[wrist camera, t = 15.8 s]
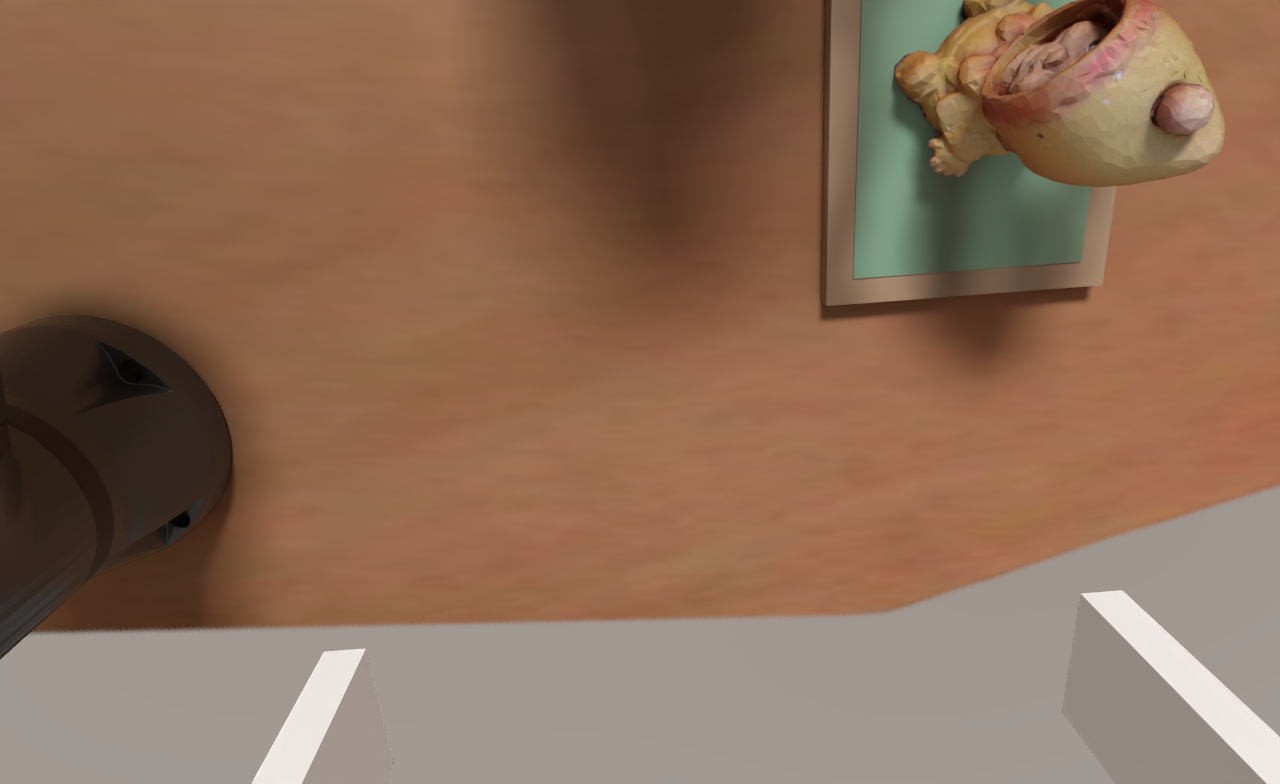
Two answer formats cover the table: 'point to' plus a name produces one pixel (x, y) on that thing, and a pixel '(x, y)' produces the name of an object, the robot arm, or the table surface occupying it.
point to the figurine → (1067, 92)
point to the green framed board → (932, 182)
